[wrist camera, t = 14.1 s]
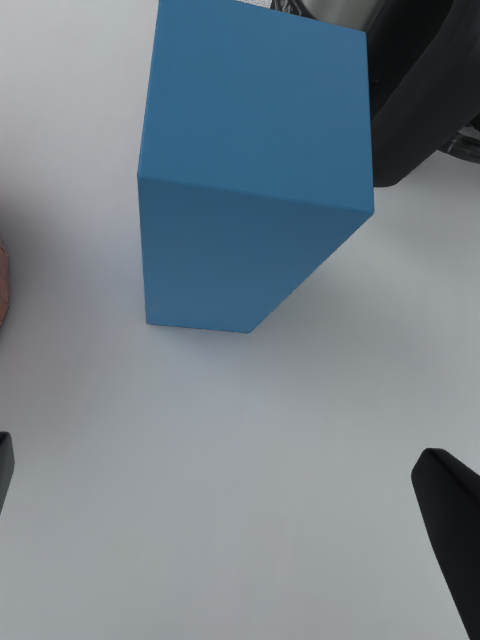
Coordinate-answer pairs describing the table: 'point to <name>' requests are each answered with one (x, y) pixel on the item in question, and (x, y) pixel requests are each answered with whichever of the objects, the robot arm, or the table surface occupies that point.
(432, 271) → the table surface
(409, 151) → the milk frother
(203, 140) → the blue rectangular block
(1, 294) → the terracotta bowl
